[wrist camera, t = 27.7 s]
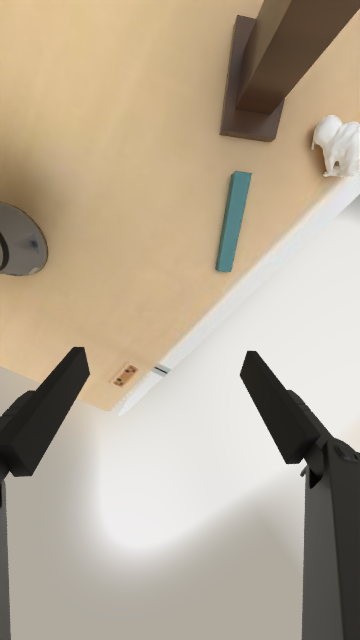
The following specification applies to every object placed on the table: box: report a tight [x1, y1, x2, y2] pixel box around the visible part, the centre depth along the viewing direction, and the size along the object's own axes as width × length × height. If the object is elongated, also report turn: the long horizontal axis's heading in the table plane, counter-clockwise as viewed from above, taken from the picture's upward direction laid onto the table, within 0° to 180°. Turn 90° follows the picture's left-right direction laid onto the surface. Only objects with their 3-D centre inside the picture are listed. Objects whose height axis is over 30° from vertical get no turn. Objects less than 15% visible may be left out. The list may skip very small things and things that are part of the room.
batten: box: [216, 171, 252, 272], centre depth 39 cm, size 20×4×2 cm, turn 175°
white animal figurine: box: [311, 115, 360, 177], centre depth 32 cm, size 6×8×12 cm
